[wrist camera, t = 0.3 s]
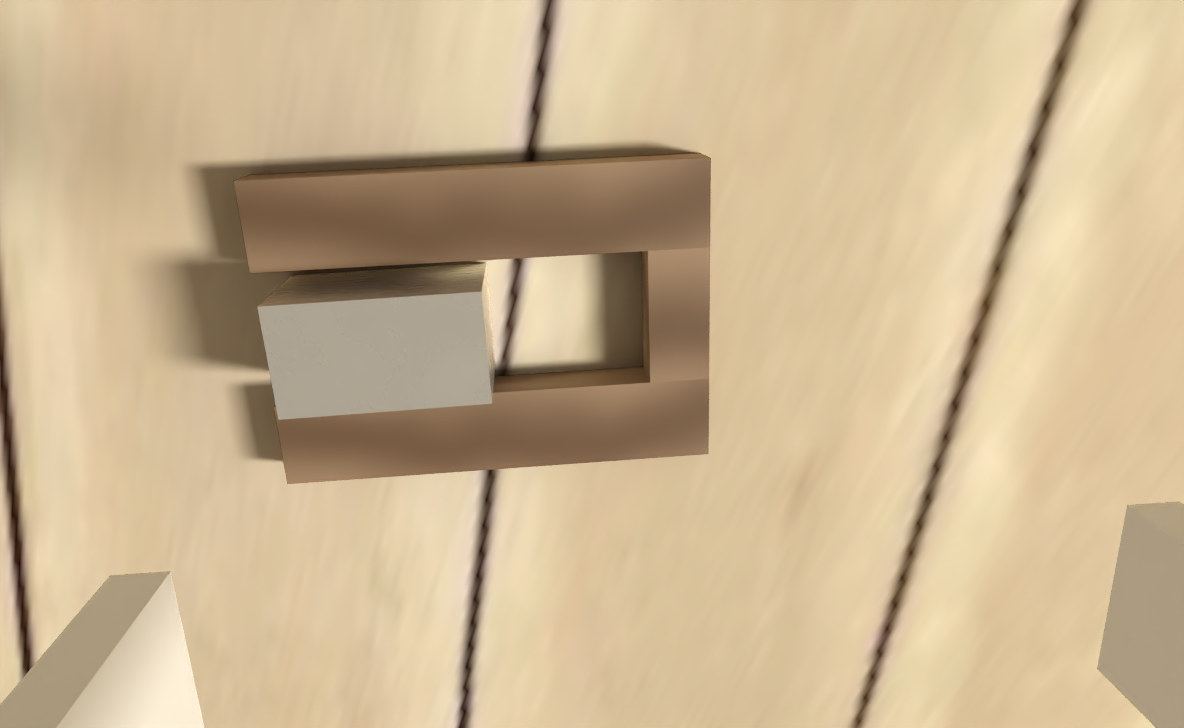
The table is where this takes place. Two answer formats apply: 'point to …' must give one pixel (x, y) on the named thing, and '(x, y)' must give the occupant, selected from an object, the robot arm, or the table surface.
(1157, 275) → the table surface
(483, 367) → the aluminium block
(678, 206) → the slot board
